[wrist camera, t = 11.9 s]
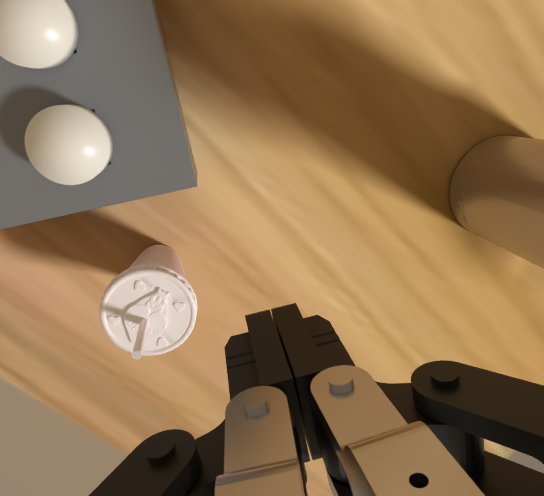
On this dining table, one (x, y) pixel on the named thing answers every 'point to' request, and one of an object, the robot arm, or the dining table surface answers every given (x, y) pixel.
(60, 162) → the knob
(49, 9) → the knob middle
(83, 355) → the dining table surface
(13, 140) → the housing
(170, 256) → the smoothie
